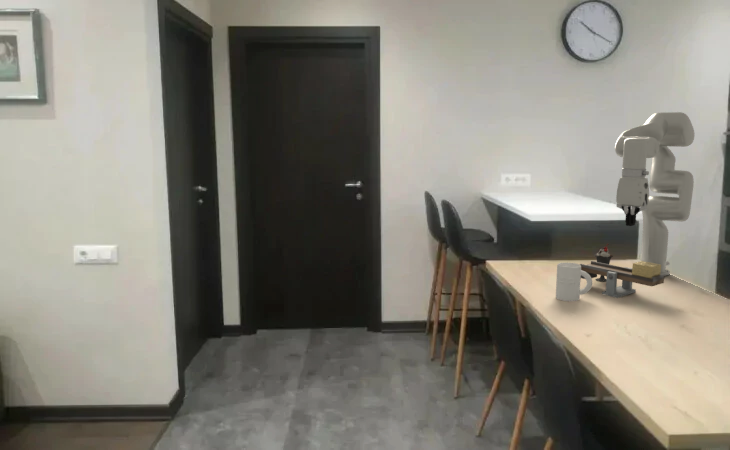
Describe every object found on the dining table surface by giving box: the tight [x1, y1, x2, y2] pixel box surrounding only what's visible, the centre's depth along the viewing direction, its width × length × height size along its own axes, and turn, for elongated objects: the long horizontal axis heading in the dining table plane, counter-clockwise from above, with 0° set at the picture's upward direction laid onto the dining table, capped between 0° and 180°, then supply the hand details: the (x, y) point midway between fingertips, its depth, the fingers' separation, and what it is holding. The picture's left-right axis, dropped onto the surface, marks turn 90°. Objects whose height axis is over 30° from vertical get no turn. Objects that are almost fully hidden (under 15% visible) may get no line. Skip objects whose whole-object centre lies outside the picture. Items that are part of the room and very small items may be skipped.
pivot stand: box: [601, 266, 637, 299], centre depth 224 cm, size 12×6×8 cm, turn 128°
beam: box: [579, 260, 665, 287], centre depth 224 cm, size 8×28×6 cm, turn 38°
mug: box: [555, 262, 593, 302], centre depth 217 cm, size 8×12×12 cm
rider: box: [631, 260, 661, 279], centre depth 215 cm, size 6×7×5 cm
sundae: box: [594, 243, 614, 283], centre depth 242 cm, size 7×7×15 cm
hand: (630, 225), depth 219 cm, fingers closed
